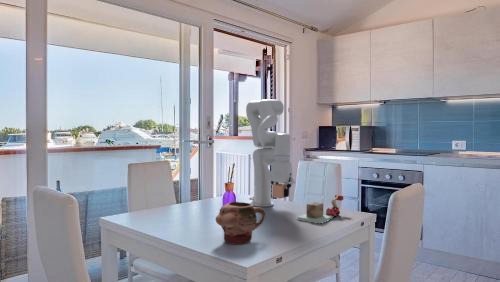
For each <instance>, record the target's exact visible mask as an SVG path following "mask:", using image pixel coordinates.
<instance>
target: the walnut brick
mask: <svg viewBox="0 0 500 282" xmlns="http://www.w3.org/2000/svg"><path fill="white" fill-rule="evenodd" d="M306 214H307V216H306V217H310V218H319V217H322V216H323V215H324V202H316V201H312V202H309V203H306Z"/></svg>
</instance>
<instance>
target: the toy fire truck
mask: <svg viewBox="0 0 500 282" xmlns="http://www.w3.org/2000/svg"><path fill="white" fill-rule="evenodd" d="M343 200H344V196H343V195H338V194H337V195H336V194H335V195H334V199H332V200H331V201H330V202H331V205H332V207H331V208H330V207H328V208H326V211H325V213H326V214H325V215H328V216H333V217H334V216H337V215H339V214H340V215H341V211H340V208H339V207H338V205H337V202H336V201H343ZM340 215H339V216H340ZM337 217H338V216H337ZM334 218H335V217H334Z"/></svg>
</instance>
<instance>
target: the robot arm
mask: <svg viewBox="0 0 500 282" xmlns="http://www.w3.org/2000/svg"><path fill="white" fill-rule="evenodd" d="M284 107H285V106H284V104H283V101H282V100H280V99H269V98H266V99H261V100H251V101H250V102H247V103H246V107H245V113H246V117H247V120H248V123H249V125H250V128H251V135H252V142H253V145H254V147H256V149H255V150H254V151H252V160H253V161H252V162H253V168H254V169H253V172H254V173H253V174H254V176H253V177H254V178H253V179H254V181H253V195H250V196H249V197H248V200H249V201H251V203H250V204H252V205H253V207H260V208H266V207H272V206H274V203H275V202H273V201H272V186H273V185H274V184H279V183H284V186H285V189H284V197H285V198H288V195H289V196H290V190H289V188H291V187H292V186H293V185H294V184H295V183H296V181H295V180H294V178H293V167H292V162H291V135H290V133H285V132H278V131H271V130H270V131H268V129H270V128H273V127H274V126H276V125H277V123H278V121H279V118H278V116H281V115H282V114H283V113H284V111H285V110H284V109H285V108H284ZM268 166H271V167H270V169H269V168H268Z"/></svg>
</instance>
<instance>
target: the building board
mask: <svg viewBox="0 0 500 282" xmlns="http://www.w3.org/2000/svg"><path fill="white" fill-rule="evenodd" d="M306 216H307V213H304V214H301V215H299V216H297V217H296V218H297V219H296V220H297V221H300V220H303V221H302V222H305V221H310V222H309V223H311V222H316V223H315V224H317V223H322V222H325V221H327V220H330V219H332V218H333V216H328V215H326V214H323V216H322V217H319V218H310V217H306ZM333 219H334V218H333ZM333 219H332V220H333ZM330 221H331V220H330ZM327 222H328V221H327ZM325 223H326V222H325ZM322 224H323V223H322Z"/></svg>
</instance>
